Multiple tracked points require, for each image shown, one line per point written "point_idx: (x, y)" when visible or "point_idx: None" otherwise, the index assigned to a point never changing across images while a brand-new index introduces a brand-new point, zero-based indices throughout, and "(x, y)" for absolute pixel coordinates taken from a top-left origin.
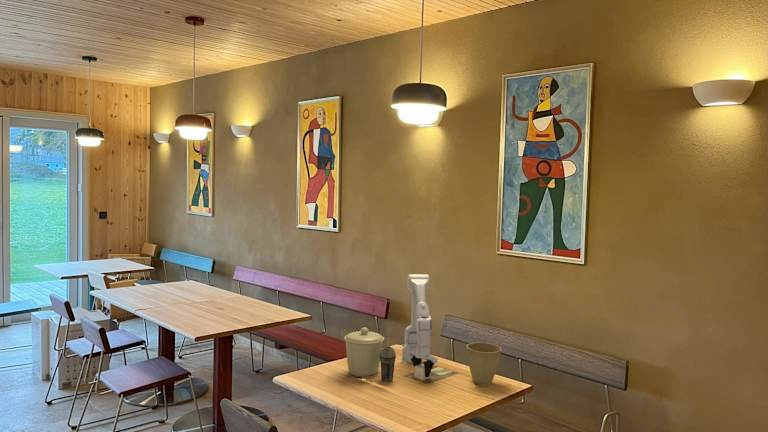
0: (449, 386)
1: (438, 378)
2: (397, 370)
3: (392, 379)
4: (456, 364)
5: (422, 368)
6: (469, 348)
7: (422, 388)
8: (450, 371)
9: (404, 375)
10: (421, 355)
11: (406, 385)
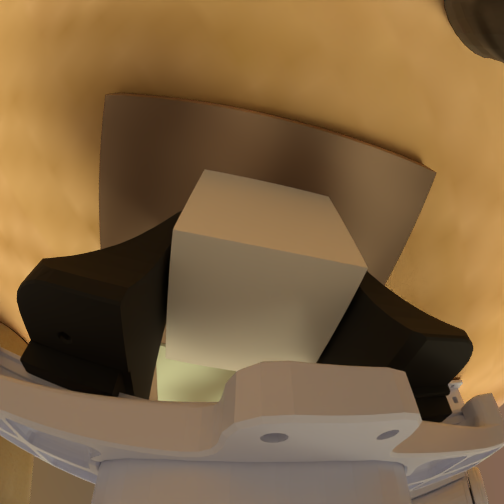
0: (28, 229)
1: None
2: (478, 293)
3: (462, 8)
4: None
5: (192, 233)
6: (10, 501)
7: (132, 32)
8: None
9: (427, 189)
10: (184, 493)
11: (311, 3)
